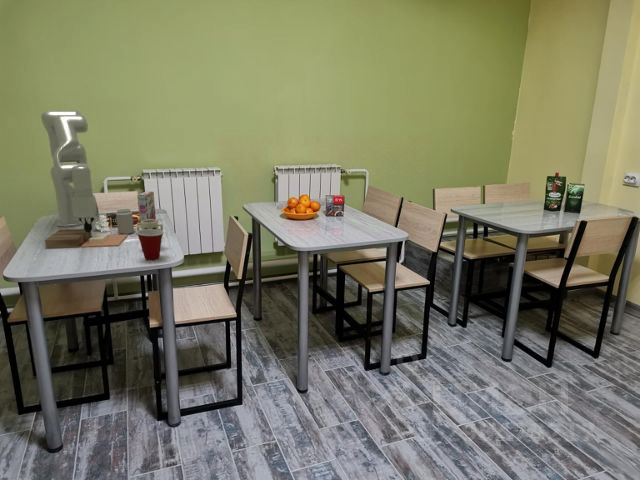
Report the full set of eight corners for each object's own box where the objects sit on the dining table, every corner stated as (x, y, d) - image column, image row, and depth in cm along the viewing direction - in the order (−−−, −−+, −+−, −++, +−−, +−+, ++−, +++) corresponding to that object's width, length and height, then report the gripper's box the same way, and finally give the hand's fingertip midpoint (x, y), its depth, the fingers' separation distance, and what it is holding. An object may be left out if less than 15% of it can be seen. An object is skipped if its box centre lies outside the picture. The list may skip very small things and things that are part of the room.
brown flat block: (61, 237, 232) (60, 229, 231) (91, 236, 234) (90, 228, 232) (46, 248, 215) (44, 240, 213) (79, 247, 216) (77, 239, 215)
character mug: (139, 252, 210) (136, 223, 206) (139, 247, 216) (136, 220, 213) (165, 249, 214) (162, 221, 210) (164, 245, 220) (161, 218, 217)
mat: (93, 236, 234) (93, 235, 234) (128, 235, 236) (127, 234, 236) (81, 247, 217) (81, 246, 216) (118, 246, 219) (118, 244, 219)
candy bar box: (149, 225, 255) (146, 195, 251) (139, 225, 256) (136, 194, 251) (156, 220, 266) (154, 191, 262) (147, 220, 266) (145, 191, 262)
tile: (108, 233, 229) (109, 237, 230) (95, 234, 229) (96, 238, 229) (102, 239, 221) (103, 243, 221) (88, 239, 220) (89, 243, 221)
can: (127, 235, 236) (124, 212, 232) (114, 234, 238) (112, 210, 235) (137, 231, 243) (135, 208, 239) (125, 230, 245) (122, 207, 242)
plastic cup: (169, 259, 201) (167, 232, 198) (143, 264, 195) (140, 236, 192) (161, 253, 209) (159, 226, 206) (136, 257, 204) (133, 230, 200)
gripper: (63, 194, 214) (68, 234, 220) (98, 194, 216) (103, 233, 222) (69, 191, 221) (74, 229, 227) (103, 191, 223) (107, 229, 229)
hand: (88, 231), depth 224 cm, fingers closed
